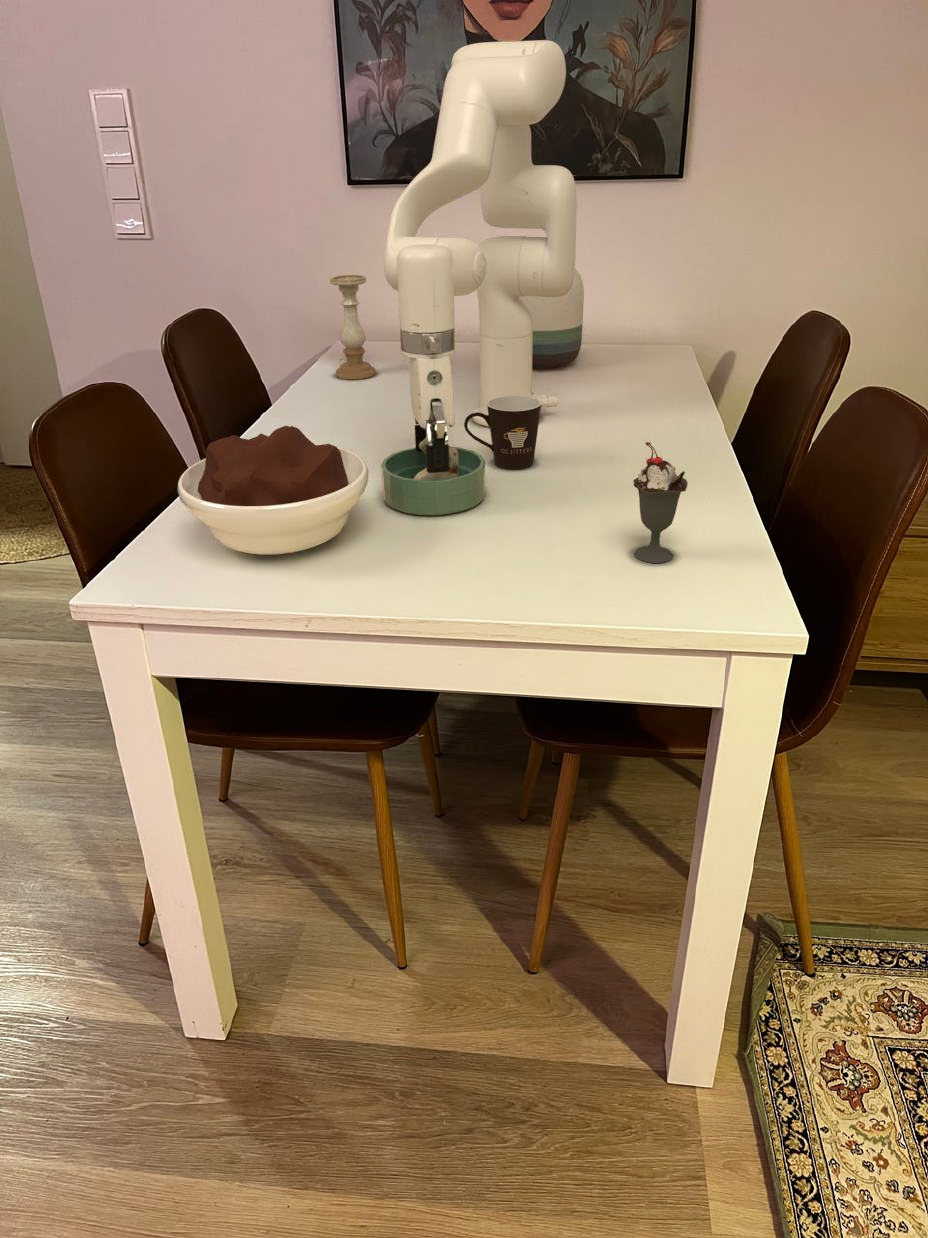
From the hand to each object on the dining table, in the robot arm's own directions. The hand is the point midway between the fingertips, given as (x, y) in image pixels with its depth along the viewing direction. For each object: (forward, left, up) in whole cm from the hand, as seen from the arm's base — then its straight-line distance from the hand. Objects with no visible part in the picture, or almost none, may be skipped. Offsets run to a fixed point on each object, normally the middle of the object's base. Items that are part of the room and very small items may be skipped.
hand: (432, 460), depth 133 cm
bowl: (0, 0, -6) cm, 6 cm away
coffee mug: (-14, -12, -6) cm, 20 cm away
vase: (-38, -72, -6) cm, 82 cm away
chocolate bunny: (0, 0, -6) cm, 6 cm away
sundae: (-24, +27, -6) cm, 37 cm away
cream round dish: (+23, +9, -6) cm, 25 cm away
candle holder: (+4, -75, -6) cm, 76 cm away
